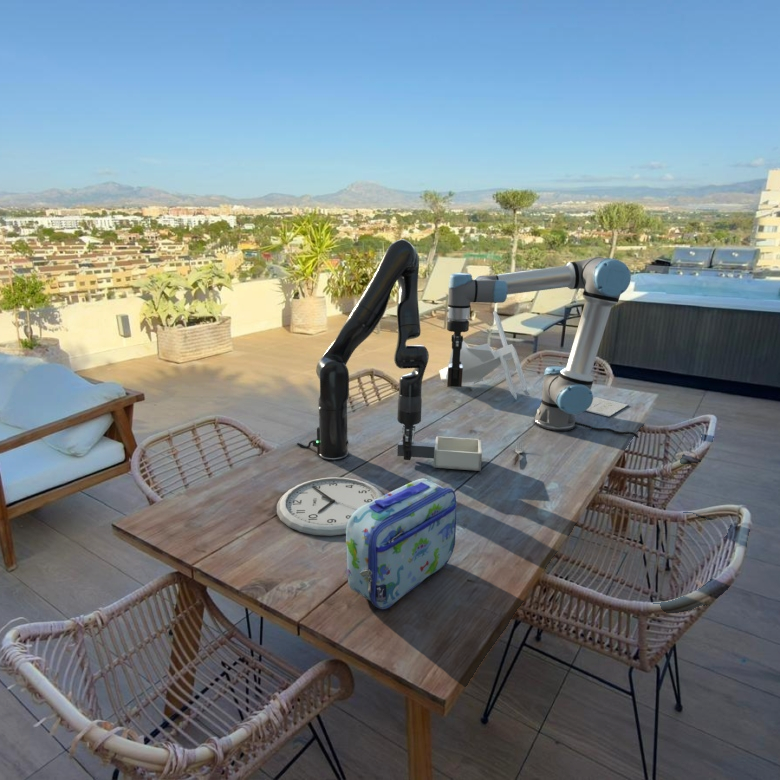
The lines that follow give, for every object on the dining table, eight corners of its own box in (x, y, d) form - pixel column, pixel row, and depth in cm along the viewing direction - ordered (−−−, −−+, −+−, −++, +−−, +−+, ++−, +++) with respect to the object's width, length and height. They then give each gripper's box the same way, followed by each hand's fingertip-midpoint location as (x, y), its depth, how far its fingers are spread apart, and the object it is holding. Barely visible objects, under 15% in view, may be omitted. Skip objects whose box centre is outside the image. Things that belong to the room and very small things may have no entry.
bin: (479, 455, 173) (480, 439, 172) (480, 470, 162) (481, 453, 161) (399, 449, 177) (400, 433, 175) (395, 464, 165) (396, 447, 164)
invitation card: (608, 416, 214) (573, 407, 224) (608, 416, 214) (573, 408, 224) (628, 404, 229) (594, 396, 238) (628, 405, 229) (594, 397, 238)
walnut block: (461, 383, 189) (462, 364, 187) (461, 387, 184) (462, 368, 182) (447, 382, 189) (448, 363, 187) (447, 386, 185) (448, 367, 182)
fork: (510, 465, 168) (510, 460, 168) (516, 447, 182) (517, 442, 182) (518, 467, 167) (519, 461, 167) (524, 448, 182) (524, 443, 181)
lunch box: (375, 622, 100) (376, 527, 94) (339, 595, 108) (338, 505, 101) (459, 565, 118) (465, 481, 112) (424, 545, 125) (427, 465, 119)
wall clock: (392, 527, 129) (268, 531, 127) (391, 533, 130) (269, 537, 127) (383, 473, 158) (282, 475, 155) (383, 478, 158) (282, 480, 156)
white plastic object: (461, 429, 252) (437, 405, 227) (444, 352, 274) (420, 323, 250) (535, 404, 240) (518, 377, 215) (510, 326, 262) (492, 293, 237)
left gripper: (400, 399, 173) (398, 448, 178) (395, 414, 159) (393, 465, 164) (423, 401, 172) (420, 449, 177) (419, 415, 158) (417, 467, 163)
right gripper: (447, 314, 189) (444, 376, 196) (446, 323, 171) (443, 391, 178) (468, 315, 188) (464, 377, 195) (469, 324, 171) (465, 392, 178)
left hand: (407, 457), depth 171 cm, fingers closed on bin, 3 cm apart
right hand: (454, 384), depth 187 cm, fingers closed on walnut block, 5 cm apart
